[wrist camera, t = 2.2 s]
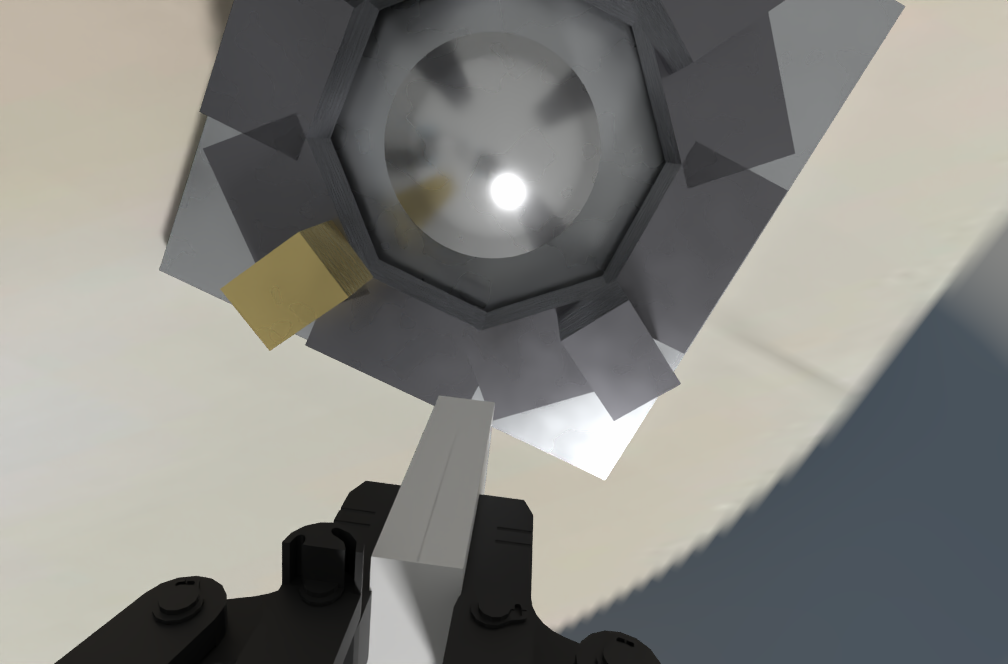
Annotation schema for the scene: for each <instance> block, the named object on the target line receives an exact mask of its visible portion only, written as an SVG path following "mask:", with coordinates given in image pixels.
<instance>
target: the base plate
mask: <svg viewBox="0 0 1008 664" xmlns="http://www.w3.org/2000/svg"><path fill="white" fill-rule="evenodd" d="M904 8H905V6H904V5H902V4H900V3H899V2H897V1H895V0H785V1H783V2H782V3H781V4H779V5H778V6H776V7H775V8H773V9H772V10H770V11H769V12H768V13H769V18H770V23H771V29H772V34H773V39H774V44H775V50H776V55H777V60H778V65H779V71H780V76H781V81H782V86H783V92H784V97H785V102H786V107H787V113H788V118H789V123H790V128H791V134H792V139H793V144H794V149H795V154H792V155H789V156H786V157H783V158H780V159H777V160H774V161H771V162H768V163H765V164H762V165H759V166H756V167H753V168H750V169H749V170H751V171H752V172H754V173H756V174H758V175H760V176H762V177H764V178H765V179H767V180H769V181H771V182H773V183H775V184H777V185H778V186H780V187H782V188H784V189H786V190H788V191H789V189H790V188H791V186H792V184H793V183H794V181H795V180H796V178H797V176H798V175H799V173H800V172H801V170H802V169H803V167H804V165H805V164H806V162H807V161H808V159H809V158H810V156H811V154H812V153H813V151H814V150H815V148H816V146H817V145H818V143H819V142H820V140H821V139H822V137H823V135H824V134H825V132H826V131H827V129H828V128H829V126H830V124H831V123H832V121H833V120H834V118H835V116H836V115H837V113H838V112H839V110H840V109H841V107H842V105H843V104H844V102H845V101H846V99H847V98H848V96H849V94H850V93H851V91H852V90H853V88H854V86H855V85H856V83H857V82H858V80H859V79H860V77H861V75H862V74H863V72H864V71H865V69H866V68H867V66H868V64H869V63H870V61H871V60H872V58H873V56H874V55H875V53H876V52H877V50H878V49H879V47H880V45H881V44H882V42H883V41H884V39H885V38H886V36H887V34H888V33H889V31H890V30H891V28H892V26H893V25H894V23H895V22H896V20H897V19H898V17H899V15H900V14H901V12H902V11H903V9H904ZM240 134H242V133H241V132H239V131H237V130H235V129H233V128H231V127H229V126H227V125H225V124H223V123H221V122H219V121H217V120H215V119H213V118H211V117H209V116H207V120H206V123H205V126H204V129H203V132H202V136H201V139H200V142H199V145H198V148H197V151H196V155H195V158H194V161H193V164H192V167H191V171H190V174H189V177H188V180H187V183H186V186H185V190H184V193H183V196H182V199H181V202H180V206H179V209H178V212H177V215H176V218H175V221H174V225H173V228H172V231H171V234H170V237H169V241H168V244H167V247H166V250H165V253H164V256H163V260H162V263H161V266H160V269H159V270H160V271H162V272H164V273H166V274H168V275H171V276H173V277H175V278H177V279H179V280H181V281H183V282H185V283H188V284H190V285H192V286H194V287H196V288H198V289H200V290H202V291H205V292H207V293H209V294H211V295H213V296H215V297H217V298H219V299H222V300H224V301H226V302H228V303H230V304H232V303H231V302H230V301H229V300H228V298H227V297H226V296H225V295H224V293H223V292H222V291H221V290H220V288H222V287H223V286H225V285H226V284H227V283H229V282H230V281H232V280H233V279H234V278H236V277H237V276H238V275H240V274H241V273H243V272H244V271H245V270H247V269H248V268H249V267H251V266H252V265H254V264H255V262H254V259H253V257H252V255H251V253H250V251H249V248H248V246H247V244H246V242H245V240H244V238H243V235H242V233H241V231H240V229H239V227H238V225H237V222H236V220H235V218H234V216H233V214H232V211H231V209H230V207H229V205H228V203H227V201H226V198H225V196H224V194H223V192H222V190H221V187H220V185H219V183H218V181H217V179H216V177H215V174H214V172H213V170H212V168H211V166H210V164H209V161H208V159H207V157H206V155H205V153H204V150H203V148H206V147H208V146H211V145H213V144H216V143H219V142H221V141H224V140H226V139H229V138H232V137H234V136H237V135H240ZM331 141H332V143H333V146H334V148H335V151H336V153H337V156H338V158H339V161H340V163H341V166H342V168H343V171H344V173H345V176H346V178H347V181H348V183H349V186H350V188H351V191H352V193H353V196H354V198H355V201H356V203H357V206H358V209H359V211H360V214H361V216H362V219H363V221H364V224H365V226H366V229H367V231H368V234H369V236H370V239H371V241H372V244H373V246H374V249H375V251H376V254H377V256H378V259H379V260H381V261H383V262H385V263H387V264H390V265H392V266H394V267H396V268H398V269H400V270H402V271H404V272H406V273H408V274H410V275H412V276H414V277H416V278H418V279H420V280H422V281H424V282H426V283H428V284H430V285H432V286H434V287H436V288H439V289H441V290H443V291H445V292H447V293H449V294H451V295H453V296H455V297H457V298H459V299H461V300H463V301H465V302H467V303H469V304H471V305H473V306H475V307H477V308H479V309H481V310H483V311H485V312H489V311H492V310H496V309H499V308H502V307H505V306H508V305H512V304H515V303H518V302H521V301H524V300H527V299H531V298H534V297H537V296H540V295H543V294H547V293H550V292H553V291H556V290H559V289H562V288H566V287H569V286H572V285H575V284H578V283H582V282H585V281H588V280H591V279H594V278H597V277H601V276H603V274H604V272H605V270H606V268H607V267H608V265H609V263H610V261H611V260H612V258H613V256H614V254H615V252H616V251H617V249H618V247H619V245H620V244H621V242H622V240H623V238H624V236H625V235H626V233H627V231H628V229H629V227H630V226H631V224H632V222H633V220H634V219H635V217H636V215H637V213H638V211H639V210H640V208H641V206H642V204H643V202H644V201H645V199H646V197H647V195H648V194H649V192H650V190H651V188H652V186H653V185H654V183H655V181H656V179H657V177H658V176H659V174H660V172H661V170H662V169H663V167H664V165H665V163H666V161H665V157H664V153H663V149H662V145H661V141H660V137H659V133H658V129H657V125H656V121H655V117H654V113H653V109H652V105H651V101H650V97H649V93H648V89H647V85H646V81H645V77H644V73H643V69H642V65H641V61H640V57H639V53H638V49H637V45H636V41H635V37H634V33H633V29H632V26H630V25H628V24H626V23H625V22H623V21H621V20H619V19H617V18H616V17H614V16H612V15H610V14H608V13H606V12H605V11H603V10H601V9H599V8H597V7H596V6H594V5H592V4H590V3H588V2H587V1H585V0H404V1H402V2H399V3H397V4H394V5H392V6H389V7H387V8H384V9H382V10H379V13H378V15H377V18H376V21H375V23H374V26H373V29H372V31H371V34H370V36H369V39H368V42H367V44H366V47H365V50H364V52H363V55H362V57H361V60H360V63H359V65H358V68H357V71H356V73H355V76H354V78H353V81H352V84H351V86H350V89H349V91H348V94H347V97H346V99H345V102H344V105H343V107H342V110H341V112H340V115H339V118H338V120H337V123H336V126H335V128H334V131H333V133H332V136H331ZM788 191H787V192H788ZM786 194H787V193H786ZM786 194H785V195H786ZM784 197H785V196H784ZM784 197H783V199H784ZM783 199H782V200H783ZM782 200H781V202H782ZM781 202H780V203H781ZM779 205H780V204H779ZM779 205H778V206H779ZM777 208H778V207H777ZM777 208H776V210H777ZM776 210H775V211H776ZM774 213H775V212H774ZM774 213H773V214H774ZM772 216H773V215H772ZM772 216H771V217H772ZM770 219H771V218H770ZM770 219H769V221H770ZM769 221H768V222H769ZM767 224H768V223H767ZM767 224H766V225H767ZM765 227H766V226H765ZM765 227H764V229H765ZM764 229H763V230H764ZM762 232H763V231H762ZM762 232H761V233H762ZM760 235H761V234H760ZM760 235H759V236H760ZM758 238H759V237H758ZM758 238H757V240H758ZM757 240H756V241H757ZM755 243H756V242H755ZM755 243H754V244H755ZM753 246H754V245H753ZM753 246H752V247H753ZM751 249H752V248H751ZM751 249H750V251H751ZM750 251H749V252H750ZM748 254H749V253H748ZM748 254H747V255H748ZM746 257H747V256H746ZM746 257H745V259H746ZM745 259H744V260H745ZM743 262H744V261H743ZM743 262H742V263H743ZM741 265H742V264H741ZM741 265H740V266H741ZM739 268H740V267H739ZM739 268H738V270H739ZM738 270H737V271H738ZM736 273H737V272H736ZM736 273H735V274H736ZM734 276H735V275H734ZM734 276H733V277H734ZM732 279H733V278H732ZM732 279H731V281H732ZM731 281H730V282H731ZM729 284H730V283H729ZM729 284H728V285H729ZM727 287H728V286H727ZM727 287H726V289H727ZM726 289H725V290H726ZM724 292H725V291H724ZM724 292H723V293H724ZM722 295H723V294H722ZM722 295H721V296H722ZM720 298H721V297H720ZM720 298H719V300H720ZM719 300H718V301H719ZM717 303H718V302H717ZM717 303H716V304H717ZM715 306H716V305H715ZM715 306H714V307H715ZM713 309H714V308H713ZM713 309H712V311H713ZM712 311H711V312H712ZM710 314H711V313H710ZM710 314H709V315H710ZM708 317H709V316H708ZM708 317H707V319H708ZM707 319H706V320H707ZM705 322H706V321H705ZM705 322H704V323H705ZM314 323H315V320H314V321H313V322H311V323H310V324H309V325H307V326H306V327H304V328H303V329H301V330H300V331H298V332H297V333H295V334H296V335H298V336H300V337H302V338H304V339H307V340H308V337H309V335H310V332H311V330H312V328H313V325H314ZM703 325H704V324H703ZM703 325H702V326H703ZM701 328H702V327H701ZM701 328H700V330H701ZM700 330H699V331H700ZM698 333H699V332H698ZM698 333H697V334H698ZM696 336H697V335H696ZM696 336H695V337H696ZM694 339H695V338H694ZM694 339H693V341H694ZM654 341H655V343H656V344H657V346H658V347H659V349H660V351H661V352H662V354H663V356H664V357H665V359H666V360H667V362H668V364H669V365H670V367H671V369H672V370H673V372H674V371H675V369H676V367H677V366H678V364H679V363H680V361H681V360H682V358H683V356H684V355H685V354H683V353H681V352H679V351H677V350H675V349H673V348H671V347H669V346H667V345H665V344H663V343H661V342H659V341H657V340H655V339H654ZM693 341H692V342H693ZM691 344H692V343H691ZM691 344H690V345H691ZM689 347H690V346H689ZM689 347H688V349H689ZM688 349H687V350H688ZM686 352H687V351H686ZM686 352H685V353H686ZM656 399H657V397H656V398H655V399H653V400H651V401H649V402H647V403H646V404H644V405H642V406H640V407H638V408H637V409H635V410H633V411H631V412H630V413H628V414H626V415H624V416H622V417H621V418H619V419H617V420H615V421H613V419H612V418H611V416H610V415H609V413H608V412H607V410H606V409H605V407H604V406H603V404H602V403H601V401H600V400H599V398H598V397H597V395H596V394H595V392H591V393H588V394H584V395H581V396H577V397H574V398H570V399H567V400H563V401H560V402H556V403H553V404H549V405H546V406H542V407H539V408H535V409H532V410H528V411H525V412H521V413H518V414H515V415H511V416H508V417H504V418H501V419H497V420H494V421H493V422H492V427H493V428H496V429H498V430H500V431H502V432H504V433H506V434H508V435H510V436H513V437H515V438H517V439H519V440H521V441H523V442H525V443H527V444H530V445H532V446H534V447H536V448H538V449H540V450H542V451H544V452H547V453H549V454H551V455H553V456H555V457H557V458H559V459H561V460H564V461H566V462H568V463H570V464H572V465H574V466H576V467H578V468H581V469H583V470H585V471H587V472H589V473H591V474H593V475H595V476H598V477H600V478H602V479H604V480H606V478H607V476H608V475H609V473H610V472H611V470H612V468H613V467H614V465H615V464H616V462H617V461H618V459H619V457H620V456H621V454H622V453H623V451H624V450H625V448H626V446H627V445H628V443H629V442H630V440H631V438H632V437H633V435H634V434H635V432H636V431H637V429H638V427H639V426H640V424H641V423H642V421H643V420H644V418H645V416H646V415H647V413H648V412H649V410H650V409H651V407H652V405H653V404H654V402H655V401H656ZM472 400H479V401H484V398H483V396H482V393H481V390H480V388H479V386H478V388H477V390H476V391H475V393H474V395H473V397H472Z"/></svg>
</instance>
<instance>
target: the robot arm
mask: <svg viewBox="0 0 1008 664" xmlns="http://www.w3.org/2000/svg"><path fill="white" fill-rule="evenodd" d="M494 405H495V402H487V401H479V400H472V399H464V398H456V397H448V396H440V395H439V397H438V399H437V401H436V404H435V406H434V409H433V411H432V413H431V416H430V418H429V420H428V423H427V425H426V428H425V430H424V432H423V435H422V437H421V439H420V442H419V444H418V446H417V449H416V451H415V454H414V456H413V458H412V461H411V463H410V465H409V468H408V470H407V473H406V475H405V477H404V480H403V482H402V484H401V485H393V484H386V483H378V482H371V481H365V482H364V483H362V484H361V485H359V486H358V487H357V488H355V489H354V490H352V491H351V492H349V494H348V496H347V498H346V500H345V501H344V503H343V505H342V507H341V510H339V512H338V514H337V516H336V517H335V519H334V523H316V524H312V525H307V526H304V527H302V528H300V529H298V530H296V531H294V532H292V533H291V534H290V535H289V536H288V537H287V538H286V539H285V540H284V541H283V542H282V585H281V587H280V589H279V590H278V591H275V592H272V593H269V594H265V595H260V596H253V597H244V598H235V599H227V595H226V593H225V590H224V588H223V586H222V585H221V584H219V583H218V582H216V581H215V580H213V579H211V578H205V577H200V576H191V577H181V578H176V579H173V580H170V581H167V582H164V583H161V584H159V585H158V586H156V587H154V588H153V589H151V590H149V591H148V592H146V593H145V594H143V595H142V596H141V597H139V598H138V599H137V600H136V601H134V602H133V603H132V604H130V605H129V606H128V607H127V608H125V609H124V610H123V611H121V612H120V613H119V614H118V615H116V616H115V617H114V618H112V619H111V620H110V621H109V622H107V623H106V624H105V625H103V626H102V627H101V628H100V629H98V630H97V631H96V632H94V633H93V634H92V635H91V636H89V637H88V638H87V639H85V640H84V641H83V642H82V643H80V644H79V645H78V646H76V647H75V648H74V649H73V650H71V651H70V652H69V653H67V654H66V655H65V656H64V657H62V658H61V659H60V660H58V661H57V662H56V663H55V664H660V662H659V660H658V659H657V658H656V656H655V655H654V654H653V652H652V651H651V649H649V648H648V647H647V646H646V645H644V644H643V643H642V642H640V641H639V640H637V639H636V638H634V637H631V636H629V635H626V634H624V633H621V632H613V631H601V632H597V633H593V634H590V635H589V636H588V637H586V638H585V639H584V640H582V641H581V643H577V642H575V641H572V640H570V639H568V638H565V637H563V636H561V635H559V634H557V633H556V632H554V631H552V630H551V629H550V628H548V627H547V626H546V625H545V624H543V622H542V621H541V620H540V619H539V618H538V616H537V615H536V613H535V611H534V609H533V607H532V601H531V579H532V541H533V535H532V534H533V514H532V512H531V511H530V509H529V507H528V506H527V504H526V502H525V501H524V500H519V499H511V498H504V497H496V496H489V495H484V491H485V483H486V474H487V465H488V457H489V448H490V440H491V431H492V422H493V414H494Z"/></svg>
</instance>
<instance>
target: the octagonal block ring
mask: <svg viewBox="0 0 1008 664" xmlns="http://www.w3.org/2000/svg"><path fill="white" fill-rule="evenodd" d="M402 1H404V0H234V2H233V5H232V9H231V12H230V15H229V18H228V21H227V25H226V28H225V31H224V34H223V38H222V41H221V44H220V47H219V51H218V54H217V57H216V60H215V63H214V67H213V70H212V73H211V76H210V80H209V83H208V86H207V89H206V93H205V96H204V99H203V102H202V105H201V109H200V112H201V113H203V114H205V115H207V116H209V117H211V118H213V119H215V120H217V121H219V122H221V123H223V124H225V125H227V126H229V127H231V128H233V129H235V130H237V131H239V132H241V133H242V134H240V135H237V136H234V137H232V138H229V139H226V140H224V141H221V142H219V143H216V144H213V145H211V146H208V147H206V148H203V150H204V153H205V155H206V157H207V159H208V161H209V164H210V166H211V168H212V170H213V172H214V174H215V177H216V179H217V181H218V183H219V185H220V187H221V190H222V192H223V194H224V196H225V198H226V201H227V203H228V205H229V207H230V209H231V211H232V214H233V216H234V218H235V220H236V222H237V225H238V227H239V229H240V231H241V233H242V235H243V238H244V240H245V242H246V244H247V246H248V248H249V251H250V253H251V255H252V257H253V259H254V262H255V264H254V265H252V266H251V267H249V268H248V269H247V270H245V271H244V272H243V273H241V274H240V275H238V276H237V277H236V278H234V279H233V280H232V281H230V282H229V283H227V284H226V285H225V286H223V287H222V288H220V290H221V291H222V292H223V293H224V295H225V296H226V297H227V298H228V300H229V301H230V302H231V303H232V305H233V306H234V307H235V308H236V310H237V311H238V312H239V313H240V315H241V316H242V317H243V318H244V320H245V321H246V322H247V323H248V324H249V326H250V327H251V328H252V329H253V331H254V332H255V333H256V334H257V336H258V337H259V338H260V339H261V341H262V342H263V343H264V344H265V346H266V347H267V348H268V349H269V351H270V350H272V349H273V348H275V347H276V346H278V345H279V344H281V343H282V342H284V341H285V340H286V339H288V338H289V337H291V336H292V335H294V334H295V333H297V332H298V331H300V330H301V329H303V328H304V327H306V326H307V325H309V324H310V323H311V322H313V321H314V320H315V323H314V325H313V328H312V330H311V332H310V335H309V337H308V340H307V342H306V346H308V347H310V348H312V349H314V350H316V351H319V352H321V353H323V354H325V355H327V356H329V357H331V358H334V359H336V360H338V361H340V362H342V363H344V364H346V365H348V366H351V367H353V368H355V369H357V370H359V371H361V372H363V373H365V374H368V375H370V376H372V377H374V378H376V379H378V380H380V381H382V382H385V383H387V384H389V385H391V386H393V387H395V388H397V389H400V390H402V391H404V392H406V393H408V394H410V395H412V396H414V397H417V398H419V399H421V400H423V401H425V402H427V403H429V404H431V405H434V406H435V404H436V401H437V399H438V397H439V395H440V396H448V397H456V398H464V399H472V397H473V395H474V393H475V391H476V390H477V388H478V386H479V388H480V390H481V393H482V396H483V398H484V401H487V402H495V405H494V414H493V421H494V420H497V419H501V418H504V417H508V416H511V415H515V414H518V413H521V412H525V411H528V410H532V409H535V408H539V407H542V406H546V405H549V404H553V403H556V402H560V401H563V400H567V399H570V398H574V397H577V396H581V395H584V394H588V393H591V392H595V394H596V395H597V397H598V398H599V400H600V401H601V403H602V404H603V406H604V407H605V409H606V410H607V412H608V413H609V415H610V416H611V418H612V419H613V421H615V420H617V419H619V418H621V417H622V416H624V415H626V414H628V413H630V412H631V411H633V410H635V409H637V408H638V407H640V406H642V405H644V404H646V403H647V402H649V401H651V400H653V399H655V398H656V397H658V396H660V395H662V394H664V393H665V392H667V391H669V390H671V389H672V388H674V387H676V386H678V385H680V384H681V383H680V382H679V380H678V378H677V377H676V375H675V373H674V372H673V370H672V369H671V367H670V365H669V364H668V362H667V360H666V359H665V357H664V356H663V354H662V352H661V351H660V349H659V347H658V346H657V344H656V343H655V341H654V339H655V340H657V341H659V342H661V343H663V344H665V345H667V346H669V347H671V348H673V349H675V350H677V351H679V352H681V353H683V354H685V352H686V351H687V349H688V347H689V346H690V344H691V343H692V341H693V339H694V338H695V336H696V335H697V333H698V332H699V330H700V328H701V327H702V325H703V324H704V322H705V321H706V319H707V317H708V316H709V314H710V313H711V311H712V309H713V308H714V306H715V305H716V303H717V302H718V300H719V298H720V297H721V295H722V294H723V292H724V291H725V289H726V287H727V286H728V284H729V283H730V281H731V279H732V278H733V276H734V275H735V273H736V272H737V270H738V268H739V267H740V265H741V264H742V262H743V261H744V259H745V257H746V256H747V254H748V253H749V251H750V249H751V248H752V246H753V245H754V243H755V242H756V240H757V238H758V237H759V235H760V234H761V232H762V231H763V229H764V227H765V226H766V224H767V223H768V221H769V219H770V218H771V216H772V215H773V213H774V212H775V210H776V208H777V207H778V205H779V204H780V202H781V200H782V199H783V197H784V196H785V194H786V193H787V191H788V190H786V189H784V188H782V187H780V186H778V185H777V184H775V183H773V182H771V181H769V180H767V179H765V178H764V177H762V176H760V175H758V174H756V173H754V172H752V171H751V170H749V169H750V168H753V167H756V166H759V165H762V164H765V163H768V162H771V161H774V160H777V159H780V158H783V157H786V156H789V155H792V154H795V149H794V144H793V139H792V134H791V128H790V123H789V118H788V113H787V107H786V102H785V97H784V92H783V86H782V81H781V76H780V71H779V65H778V60H777V55H776V50H775V44H774V39H773V34H772V29H771V23H770V18H769V13H768V12H769V11H770V10H772V9H773V8H775V7H776V6H778V5H779V4H781V3H782V2H783V1H785V0H585V1H587V2H588V3H590V4H592V5H594V6H596V7H597V8H599V9H601V10H603V11H605V12H606V13H608V14H610V15H612V16H614V17H616V18H617V19H619V20H621V21H623V22H625V23H626V24H628V25H630V26H632V29H633V33H634V37H635V41H636V45H637V49H638V53H639V57H640V61H641V65H642V69H643V73H644V77H645V81H646V85H647V89H648V93H649V97H650V101H651V105H652V109H653V113H654V117H655V121H656V125H657V129H658V133H659V137H660V141H661V145H662V149H663V153H664V157H665V161H666V163H665V165H664V167H663V169H662V170H661V172H660V174H659V176H658V177H657V179H656V181H655V183H654V185H653V186H652V188H651V190H650V192H649V194H648V195H647V197H646V199H645V201H644V202H643V204H642V206H641V208H640V210H639V211H638V213H637V215H636V217H635V219H634V220H633V222H632V224H631V226H630V227H629V229H628V231H627V233H626V235H625V236H624V238H623V240H622V242H621V244H620V245H619V247H618V249H617V251H616V252H615V254H614V256H613V258H612V260H611V261H610V263H609V265H608V267H607V268H606V270H605V272H604V274H603V276H601V277H597V278H594V279H591V280H588V281H585V282H582V283H578V284H575V285H572V286H569V287H566V288H562V289H559V290H556V291H553V292H550V293H547V294H543V295H540V296H537V297H534V298H531V299H527V300H524V301H521V302H518V303H515V304H512V305H508V306H505V307H502V308H499V309H496V310H492V311H489V312H485V311H483V310H481V309H479V308H477V307H475V306H473V305H471V304H469V303H467V302H465V301H463V300H461V299H459V298H457V297H455V296H453V295H451V294H449V293H447V292H445V291H443V290H441V289H439V288H436V287H434V286H432V285H430V284H428V283H426V282H424V281H422V280H420V279H418V278H416V277H414V276H412V275H410V274H408V273H406V272H404V271H402V270H400V269H398V268H396V267H394V266H392V265H390V264H387V263H385V262H383V261H381V260H379V259H378V256H377V254H376V251H375V249H374V246H373V244H372V241H371V239H370V236H369V234H368V231H367V229H366V226H365V224H364V221H363V219H362V216H361V214H360V211H359V209H358V206H357V203H356V201H355V198H354V196H353V193H352V191H351V188H350V186H349V183H348V181H347V178H346V176H345V173H344V171H343V168H342V166H341V163H340V161H339V158H338V156H337V153H336V151H335V148H334V146H333V143H332V141H331V136H332V133H333V131H334V128H335V126H336V123H337V120H338V118H339V115H340V112H341V110H342V107H343V105H344V102H345V99H346V97H347V94H348V91H349V89H350V86H351V84H352V81H353V78H354V76H355V73H356V71H357V68H358V65H359V63H360V60H361V57H362V55H363V52H364V50H365V47H366V44H367V42H368V39H369V36H370V34H371V31H372V29H373V26H374V23H375V21H376V18H377V15H378V13H379V10H382V9H384V8H387V7H389V6H392V5H394V4H397V3H399V2H402Z"/></svg>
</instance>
